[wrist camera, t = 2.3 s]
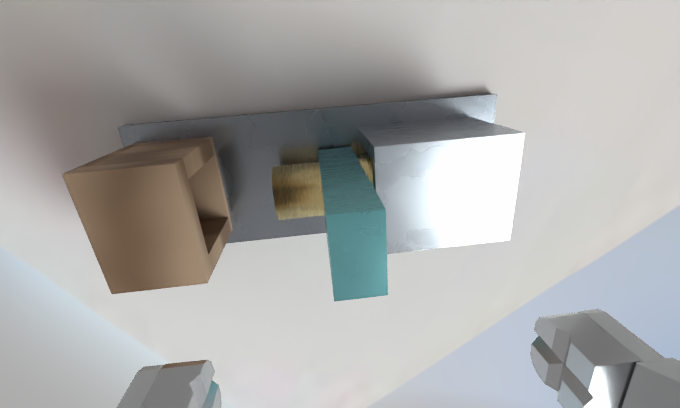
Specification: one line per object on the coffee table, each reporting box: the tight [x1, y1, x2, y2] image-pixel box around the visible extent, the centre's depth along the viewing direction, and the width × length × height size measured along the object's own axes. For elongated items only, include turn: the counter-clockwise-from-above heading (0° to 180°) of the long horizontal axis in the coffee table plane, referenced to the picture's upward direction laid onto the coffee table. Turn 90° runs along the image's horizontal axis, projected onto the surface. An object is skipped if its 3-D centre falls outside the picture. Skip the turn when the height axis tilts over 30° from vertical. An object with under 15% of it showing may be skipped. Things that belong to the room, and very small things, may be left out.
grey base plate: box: [118, 94, 525, 254], centre depth 18 cm, size 22×8×6 cm, turn 94°
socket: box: [62, 137, 233, 294], centre depth 18 cm, size 4×6×6 cm
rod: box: [272, 147, 388, 301], centre depth 16 cm, size 13×4×10 cm, turn 94°
